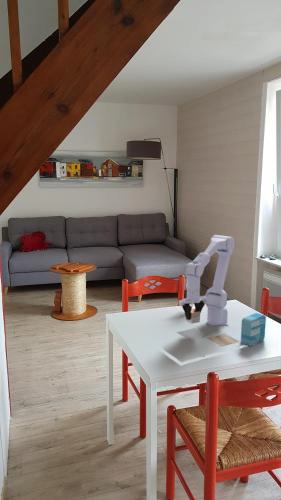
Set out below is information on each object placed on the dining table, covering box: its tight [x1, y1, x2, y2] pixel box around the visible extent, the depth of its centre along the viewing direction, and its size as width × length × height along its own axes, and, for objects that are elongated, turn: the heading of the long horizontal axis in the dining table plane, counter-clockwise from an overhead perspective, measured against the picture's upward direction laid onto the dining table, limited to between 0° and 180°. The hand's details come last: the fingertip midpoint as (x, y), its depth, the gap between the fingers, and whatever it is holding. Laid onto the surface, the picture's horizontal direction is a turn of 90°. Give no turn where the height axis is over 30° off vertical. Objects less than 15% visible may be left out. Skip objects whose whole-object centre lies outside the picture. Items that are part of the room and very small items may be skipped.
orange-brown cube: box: [185, 309, 201, 325], centre depth 186 cm, size 5×5×5 cm
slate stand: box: [176, 327, 208, 341], centre depth 188 cm, size 10×10×1 cm
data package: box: [240, 312, 267, 347], centre depth 181 cm, size 12×4×12 cm, turn 131°
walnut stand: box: [207, 333, 241, 347], centre depth 181 cm, size 10×10×1 cm
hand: (192, 318), depth 186 cm, fingers closed on orange-brown cube, 5 cm apart
